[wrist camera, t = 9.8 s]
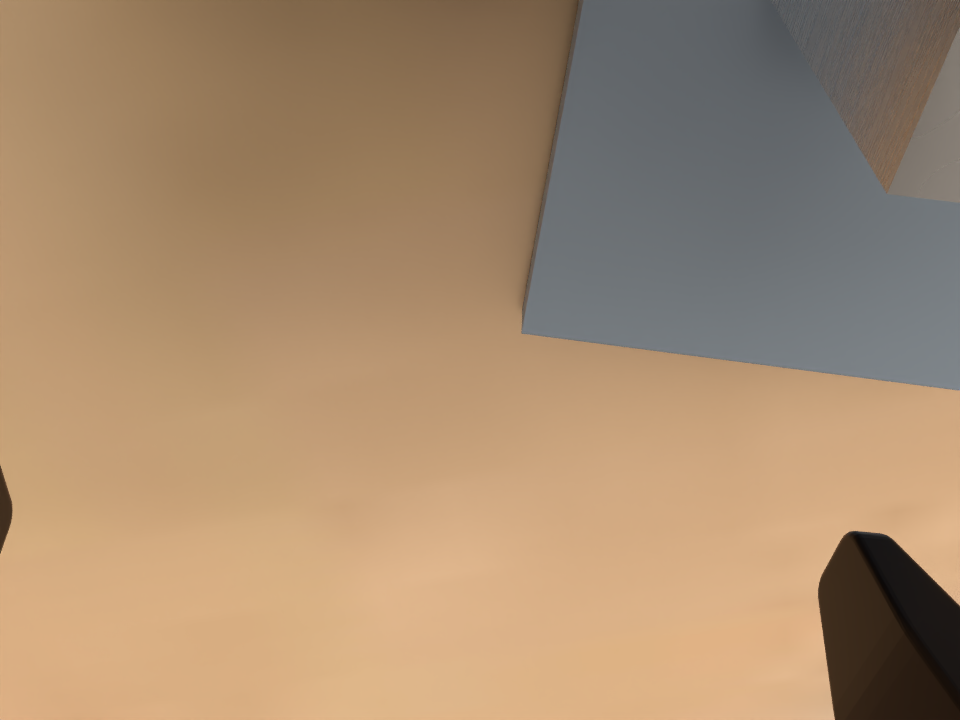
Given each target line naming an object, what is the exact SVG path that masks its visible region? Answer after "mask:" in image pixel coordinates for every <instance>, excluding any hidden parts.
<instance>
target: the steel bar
mask: <svg viewBox="0 0 960 720" xmlns="http://www.w3.org/2000/svg"><path fill="white" fill-rule="evenodd" d="M771 2H772V4H773V5H774V7H775V9H776V10H777V12H778V14H779V15H780V17H781V19H782V20H783V22H784V24H785V25H786V27H787V29H788V30H789V32H790V34H791V35H792V37H793V39H794V40H795V42H796V44H797V45H798V47H799V49H800V50H801V52H802V54H803V55H804V57H805V59H806V60H807V62H808V64H809V65H810V67H811V69H812V70H813V72H814V74H815V75H816V77H817V79H818V80H819V82H820V84H821V85H822V87H823V89H824V90H825V92H826V94H827V95H828V97H829V99H830V100H831V102H832V104H833V105H834V107H835V109H836V110H837V112H838V114H839V115H840V117H841V119H842V120H843V122H844V124H845V125H846V127H847V128H848V130H849V132H850V133H851V135H852V137H853V138H854V140H855V142H856V143H857V145H858V147H859V148H860V150H861V152H862V153H863V155H864V157H865V158H866V160H867V162H868V163H869V165H870V167H871V168H872V170H873V172H874V173H875V175H876V177H877V178H878V180H879V182H880V183H881V185H882V187H883V188H884V190H885V192H886V193H887V194H890V195H899V196H907V197H915V198H924V199H932V200H940V201H948V202H957V203H960V0H771Z"/></svg>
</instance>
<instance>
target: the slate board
mask: <svg viewBox="0 0 960 720" xmlns="http://www.w3.org/2000/svg"><path fill="white" fill-rule="evenodd" d="M522 334H530V335H538V336H545V337H553V338H561V339H568V340H576V341H584V342H591V343H599V344H607V345H614V346H622V347H630V348H637V349H645V350H653V351H660V352H668V353H676V354H683V355H691V356H699V357H706V358H714V359H722V360H729V361H737V362H745V363H752V364H760V365H768V366H776V367H783V368H791V369H799V370H806V371H814V372H822V373H829V374H837V375H845V376H852V377H860V378H868V379H875V380H883V381H891V382H898V383H906V384H914V385H921V386H929V387H937V388H944V389H952V390H960V203H957V202H948V201H940V200H932V199H924V198H915V197H907V196H899V195H890V194H887V193H886V192H885V190H884V188H883V187H882V185H881V183H880V182H879V180H878V178H877V177H876V175H875V173H874V172H873V170H872V168H871V167H870V165H869V163H868V162H867V160H866V158H865V157H864V155H863V153H862V152H861V150H860V148H859V147H858V145H857V143H856V142H855V140H854V138H853V137H852V135H851V133H850V132H849V130H848V128H847V127H846V125H845V124H844V122H843V120H842V119H841V117H840V115H839V114H838V112H837V110H836V109H835V107H834V105H833V104H832V102H831V100H830V99H829V97H828V95H827V94H826V92H825V90H824V89H823V87H822V85H821V84H820V82H819V80H818V79H817V77H816V75H815V74H814V72H813V70H812V69H811V67H810V65H809V64H808V62H807V60H806V59H805V57H804V55H803V54H802V52H801V50H800V49H799V47H798V45H797V44H796V42H795V40H794V39H793V37H792V35H791V34H790V32H789V30H788V29H787V27H786V25H785V24H784V22H783V20H782V19H781V17H780V15H779V14H778V12H777V10H776V9H775V7H774V5H773V4H772V2H771V0H579V3H578V9H577V14H576V20H575V25H574V31H573V36H572V42H571V47H570V52H569V58H568V63H567V69H566V74H565V80H564V85H563V91H562V96H561V102H560V107H559V112H558V118H557V123H556V129H555V134H554V140H553V145H552V151H551V156H550V162H549V167H548V172H547V178H546V183H545V189H544V194H543V200H542V205H541V211H540V216H539V222H538V227H537V232H536V238H535V243H534V249H533V254H532V260H531V265H530V271H529V276H528V282H527V287H526V292H525V298H524V303H523V309H522Z"/></svg>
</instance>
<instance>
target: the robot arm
mask: <svg viewBox="0 0 960 720" xmlns="http://www.w3.org/2000/svg"><path fill="white" fill-rule="evenodd" d="M11 519H12V501H11V498H10V495H9V491H8V488H7V485H6V482H5V479H4V476H3V473H2V469H1V466H0V553H1V550H2V547H3V544H4V541H5V539H6V536H7V533H8V530H9V527H10V524H11ZM818 599H819V607H820V615H821V622H822V630H823V637H824V644H825V652H826V659H827V667H828V674H829V682H830V689H831V696H832V704H833V711H834V717H835V720H960V606H959V605H958V604H957V603H956V602H955V601H954V600H953V599H952V598H951V597H950V596H949V595H948V594H947V593H946V592H945V591H944V590H943V589H942V588H941V587H940V586H939V585H938V584H937V583H936V582H935V581H934V580H933V579H932V578H931V577H930V576H929V575H928V574H927V573H926V572H925V571H924V570H923V569H922V568H921V567H920V566H919V565H918V564H917V563H916V562H915V561H914V560H913V559H912V558H911V557H910V556H909V555H908V554H907V553H906V552H905V551H904V550H903V549H902V548H901V547H900V546H899V545H898V544H897V543H896V542H895V541H894V540H893V539H891V538H890V537H888V536H887V535H884V534H880V533H870V532H859V531H851V532H849V533H847V534H846V535H844V536H843V538H842V539H841V541H840V543H839V545H838V547H837V548H836V550H835V552H834V554H833V556H832V558H831V559H830V561H829V563H828V565H827V567H826V568H825V570H824V572H823V574H822V576H821V579H820V582H819V588H818Z"/></svg>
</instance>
